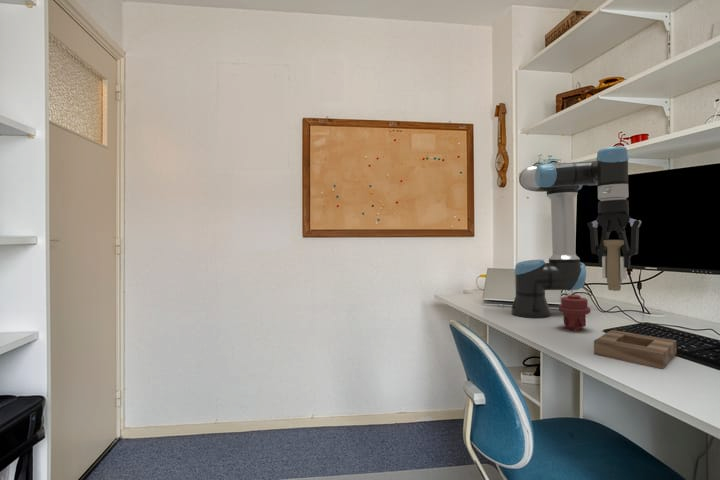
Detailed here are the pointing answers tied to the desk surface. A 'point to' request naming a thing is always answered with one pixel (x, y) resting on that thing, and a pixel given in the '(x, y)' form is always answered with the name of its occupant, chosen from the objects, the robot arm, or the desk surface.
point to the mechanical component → (574, 311)
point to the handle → (613, 264)
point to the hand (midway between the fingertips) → (614, 278)
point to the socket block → (636, 348)
